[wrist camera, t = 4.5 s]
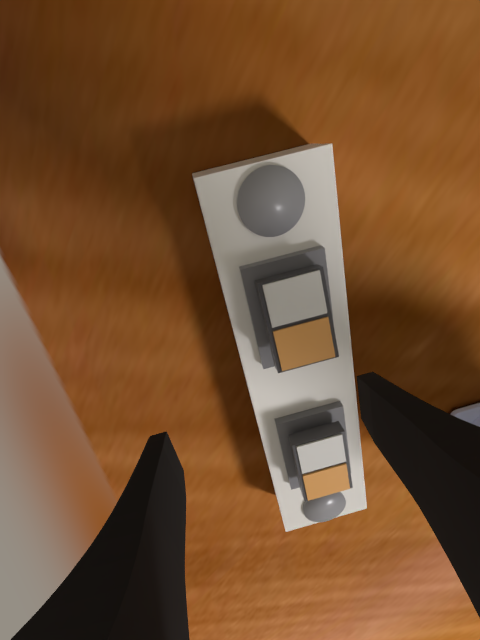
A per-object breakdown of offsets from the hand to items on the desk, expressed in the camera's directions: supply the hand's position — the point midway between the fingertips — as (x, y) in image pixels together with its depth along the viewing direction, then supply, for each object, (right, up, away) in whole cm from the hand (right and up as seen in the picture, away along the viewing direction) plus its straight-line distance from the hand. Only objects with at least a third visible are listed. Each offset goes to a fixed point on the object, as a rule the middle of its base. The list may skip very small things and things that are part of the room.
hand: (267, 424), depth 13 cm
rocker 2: (+4, -4, +8) cm, 10 cm away
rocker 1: (+2, +4, +4) cm, 6 cm away
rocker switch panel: (+2, +1, +10) cm, 10 cm away
